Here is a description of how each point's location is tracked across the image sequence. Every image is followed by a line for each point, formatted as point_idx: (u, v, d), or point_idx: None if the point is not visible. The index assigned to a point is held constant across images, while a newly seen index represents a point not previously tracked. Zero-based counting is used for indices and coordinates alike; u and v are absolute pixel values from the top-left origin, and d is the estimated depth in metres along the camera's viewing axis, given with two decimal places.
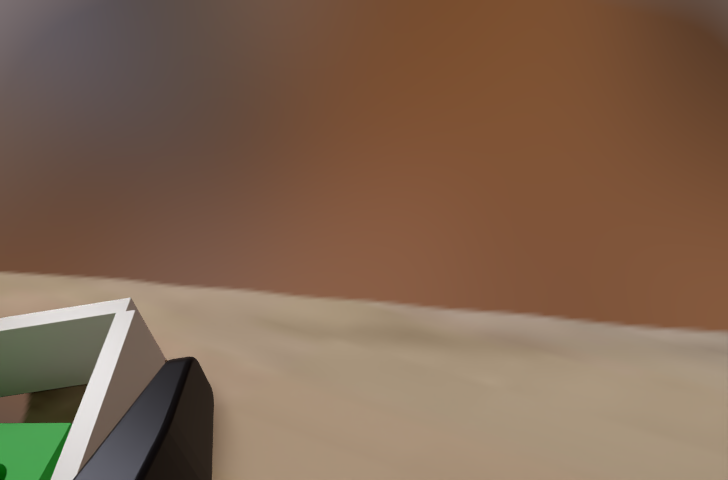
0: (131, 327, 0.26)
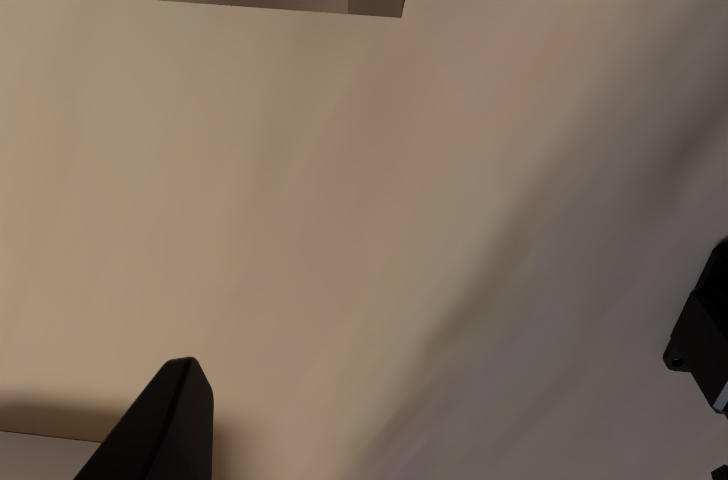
0: None
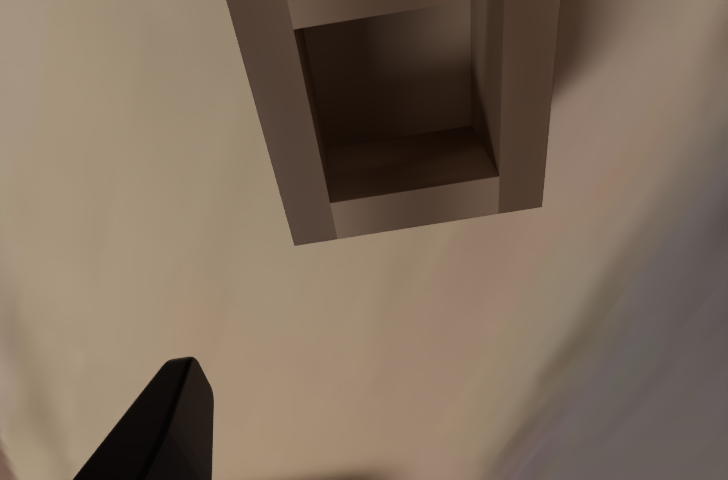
0: None
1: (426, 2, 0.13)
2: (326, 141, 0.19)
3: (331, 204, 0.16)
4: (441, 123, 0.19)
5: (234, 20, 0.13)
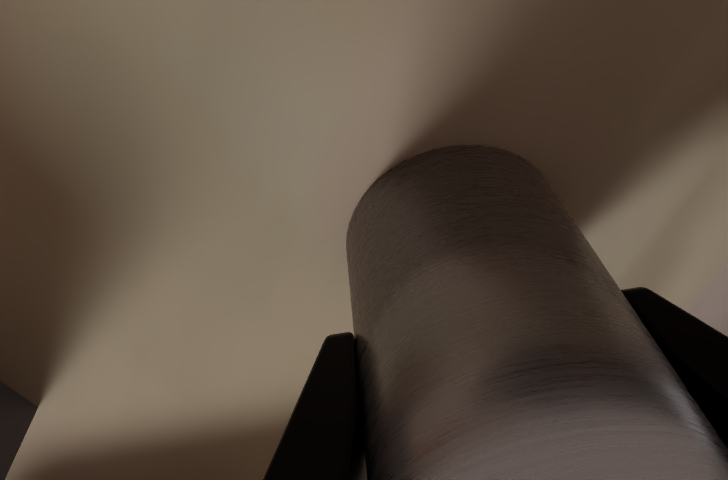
0: None
1: None
2: None
3: None
4: None
5: None
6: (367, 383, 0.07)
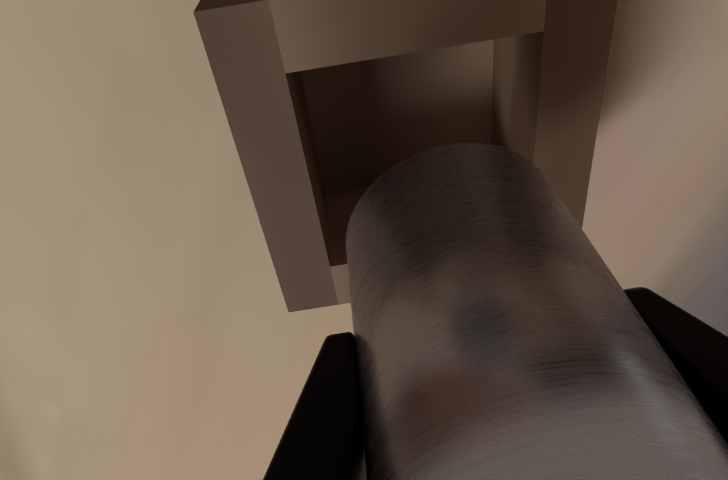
0: None
1: (448, 41, 0.11)
2: (325, 185, 0.16)
3: (331, 267, 0.14)
4: None
5: (212, 63, 0.10)
6: (367, 381, 0.07)
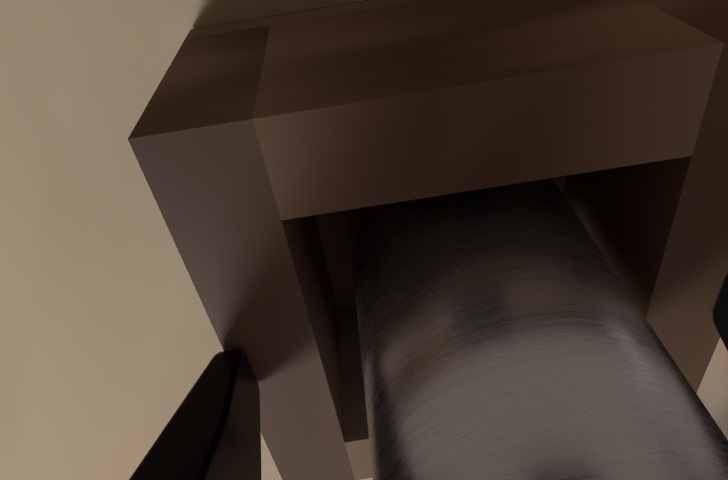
0: None
1: (540, 172, 0.07)
2: (336, 300, 0.13)
3: (346, 442, 0.10)
4: None
5: (164, 209, 0.07)
6: (365, 311, 0.08)
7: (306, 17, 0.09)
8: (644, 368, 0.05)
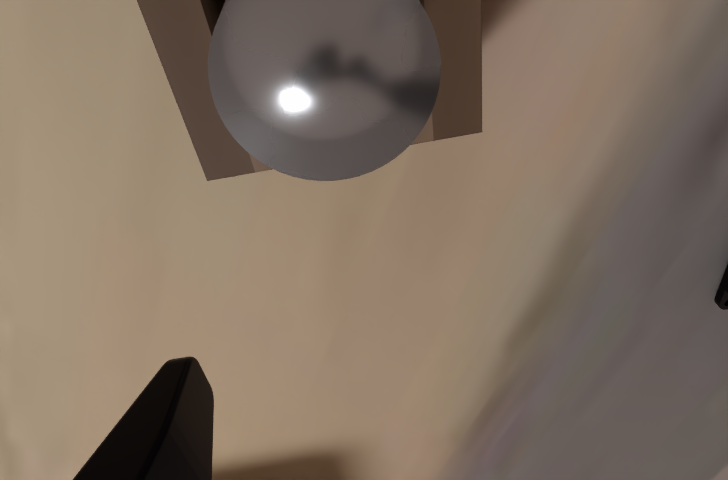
0: None
1: None
2: None
3: None
4: None
5: None
6: None
7: None
8: None
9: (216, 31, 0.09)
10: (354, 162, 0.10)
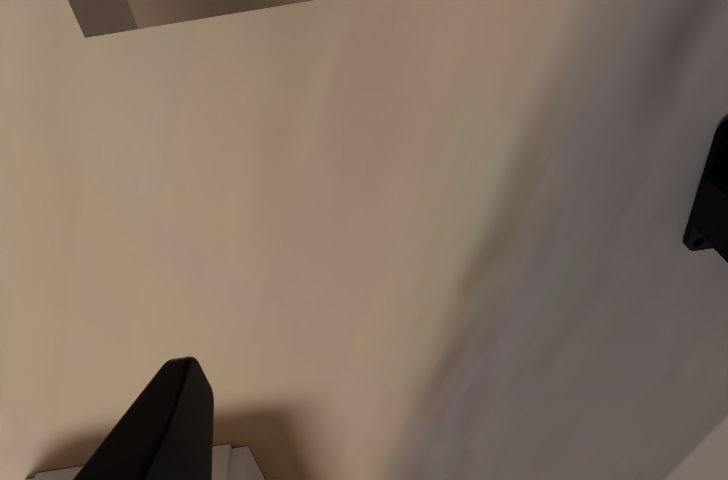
0: None
1: None
2: None
3: None
4: None
5: None
6: None
7: None
8: None
9: None
10: None
